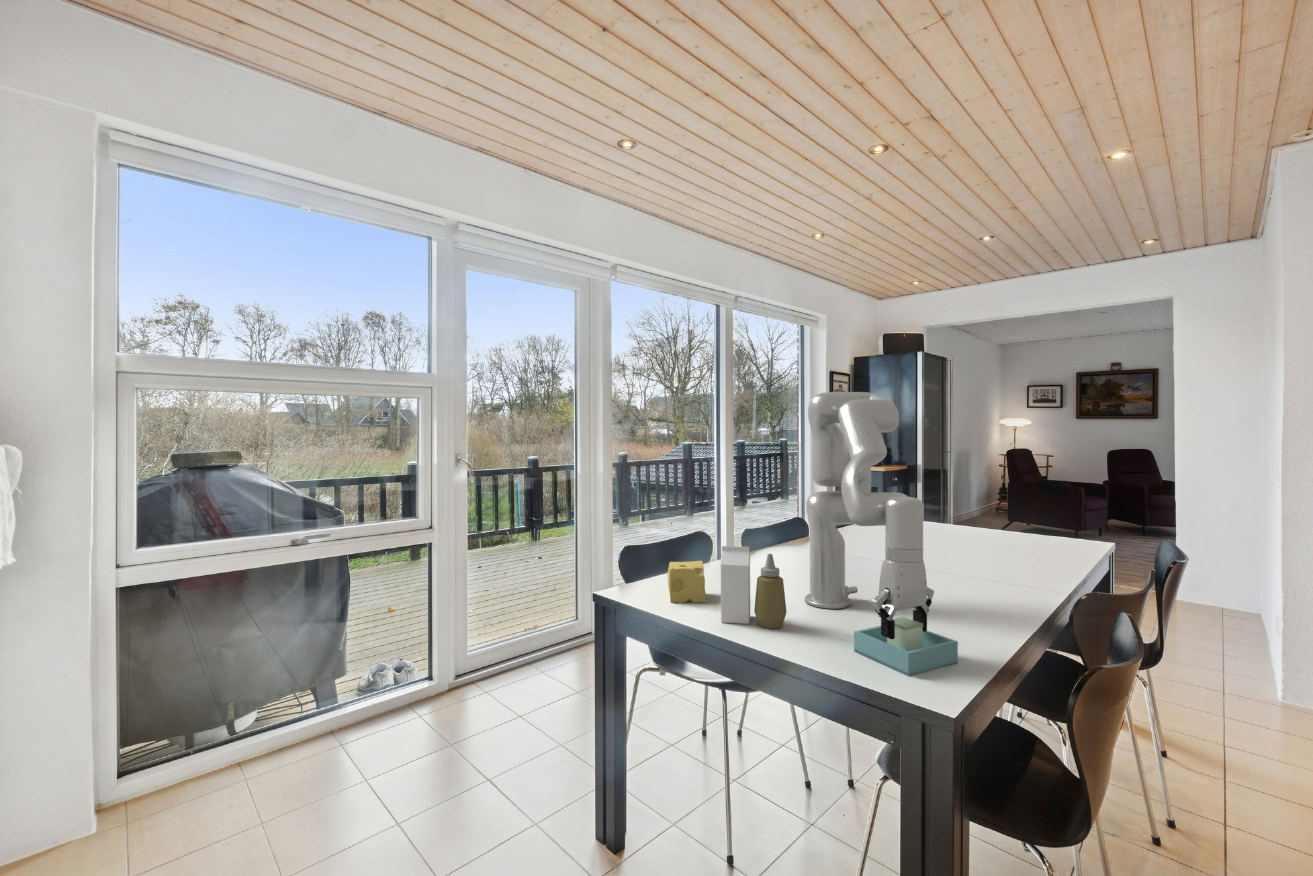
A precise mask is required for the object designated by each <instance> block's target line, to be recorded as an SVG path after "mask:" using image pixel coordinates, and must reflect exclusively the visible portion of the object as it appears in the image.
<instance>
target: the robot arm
mask: <svg viewBox="0 0 1313 876" xmlns="http://www.w3.org/2000/svg"><path fill="white" fill-rule="evenodd" d="M807 416H808V422H809V426H810V430H811V434H812V467H811V468H812V478H813V481H814V483H815V484H816V485H817V486H821V487H827V488H829V487H831V488H832V487H833V488H836V487H838V488H839V487H840V489H841V490H822V491H817V492H814V493H812V494H810V495H809V496H808V498H807V499H806V504H805V507H806V515H807V520H808V528H809V529H808V530H809V573H810V574H809V577H810V578H809V585H810V586H809V587H810V589H809V591H810V592H809V594H806V595H805V596H804V602H805V603H806V604H808V605H809V606H811V607H816V608H820V609H830V610H832V609H833V610H835V609H838V610H839V609H845V608H848V607H850V606H851V605H852V600H851V598H850V597H849V595H850V594H856V593H858V592H859V591H858V587H857V586H855V585H854V586H847V585H846V543H845V538H844V536H843V535H842V533H841V532H840V531H839V529H838V528H837V526H841V525H856V526H859V527H874V526H875V527H877V526H882V527H883V526H884V527H885V536H884V537H885V544H884V545H885V548H884V549H885V559H884V560H883V561H882V565H881V569H880V575H879V586H878V594H877V595H876V597H874V598H873V599H872V604H873V607H874V610H875V612H876V614H878V617H879V618H880V626H881V635H882V636H884V637H887V638H889V639H894V638H895V621H894V620H892V619H894V617H895V615H896V613H897V611H904V610H908V609H912V608H914V609H912V620H914V621H917V622H920V623H923V627H922V631H923V632H926V631H928V614H929V612H930V607H931V605H932V603H933V601H932V600H933V597H934V594H935V590H934V589H932V588H930V587H928V581H927V572H926V564H925V561H924V504H923V502H922V500H921V499H920V498H917V497H911V496H908V495H906V494H904V493H902V492H894V491H893V492H882V491H881V492H872V467H873V466H875V465H877V464H879V463H880V462H882V461H883V460H884V459H885V458H886V456H887V454H888V449H887V446H886V444H885V440H884V438H883V435H882V433H892V432H894V431H895V430H896V429H897V427H898V425H899V422H900V421H899V419H900V416H899V410H898V408H897V406H896V405H895V404H894V402H893V401H892V400H890V399H888V398H886V397H884V396H880V395H878V394H875V393H873V392H868V391H867V392H866V391H865V392H864V391H850V392H849V391H829V392H827V391H826V392H821V393H817V394H815V395H813V396H812V397H811V399H810V400H809V403H808V409H807ZM837 424H840V426H841V427H839V426H838V425H837ZM845 444H846V447H847V450H848V452H845ZM888 610H889V612H888Z"/></svg>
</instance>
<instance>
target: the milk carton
mask: <svg viewBox="0 0 1313 876" xmlns="http://www.w3.org/2000/svg"><path fill="white" fill-rule="evenodd" d="M750 556H751V555H750V546H732V545H731V546H728V545H722V546H721V555H720V622H721V623H729V624H730V623H731V624H745V625H746V624H747V625H749V624H750V620H751V557H750Z"/></svg>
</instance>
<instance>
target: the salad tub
mask: <svg viewBox="0 0 1313 876" xmlns="http://www.w3.org/2000/svg"><path fill="white" fill-rule="evenodd" d="M892 620H894V621H895V638H894V639H889V638H887V643H888V644H891V645H893V646H895V647H898V648H900V649H903V650H905V651H912V650H916V649H920V648H922V627H923V623H920V622H917V621H914V620H913V619H911V618H908V617H906V616H900V617H895V618H893V619H892Z"/></svg>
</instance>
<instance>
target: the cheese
mask: <svg viewBox="0 0 1313 876" xmlns="http://www.w3.org/2000/svg"><path fill="white" fill-rule="evenodd" d="M667 569H668V570H667V584H668V585H667V587H668V591H669V599H670V600H669V601H670V603H673V604H675V603H687V602H691V603H693V604H694V603H695V604H697V603H698V604H701V603H702V604H703V603H704V604H705V603H706V599H707V593H706V579H705V570H704V569H705V568H704V562H703V561H702V560H694V561H669V564H668V568H667Z"/></svg>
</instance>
